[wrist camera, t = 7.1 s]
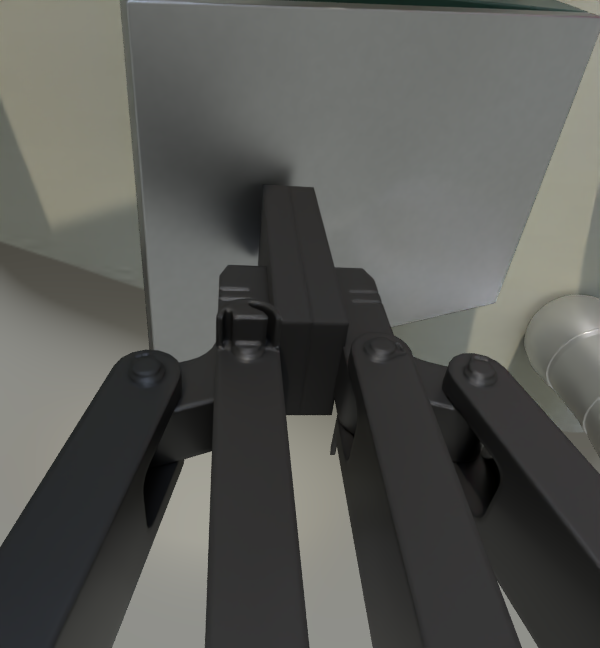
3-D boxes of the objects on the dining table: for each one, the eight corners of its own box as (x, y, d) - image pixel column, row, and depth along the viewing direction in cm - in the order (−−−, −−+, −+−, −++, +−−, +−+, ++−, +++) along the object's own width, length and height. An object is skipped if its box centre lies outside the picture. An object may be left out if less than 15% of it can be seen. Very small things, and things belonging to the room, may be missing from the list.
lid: (150, 367, 20) (156, 382, 19) (118, -7, 13) (125, -1, 12) (484, 294, 26) (495, 303, 25) (587, 12, 19) (606, 17, 18)
